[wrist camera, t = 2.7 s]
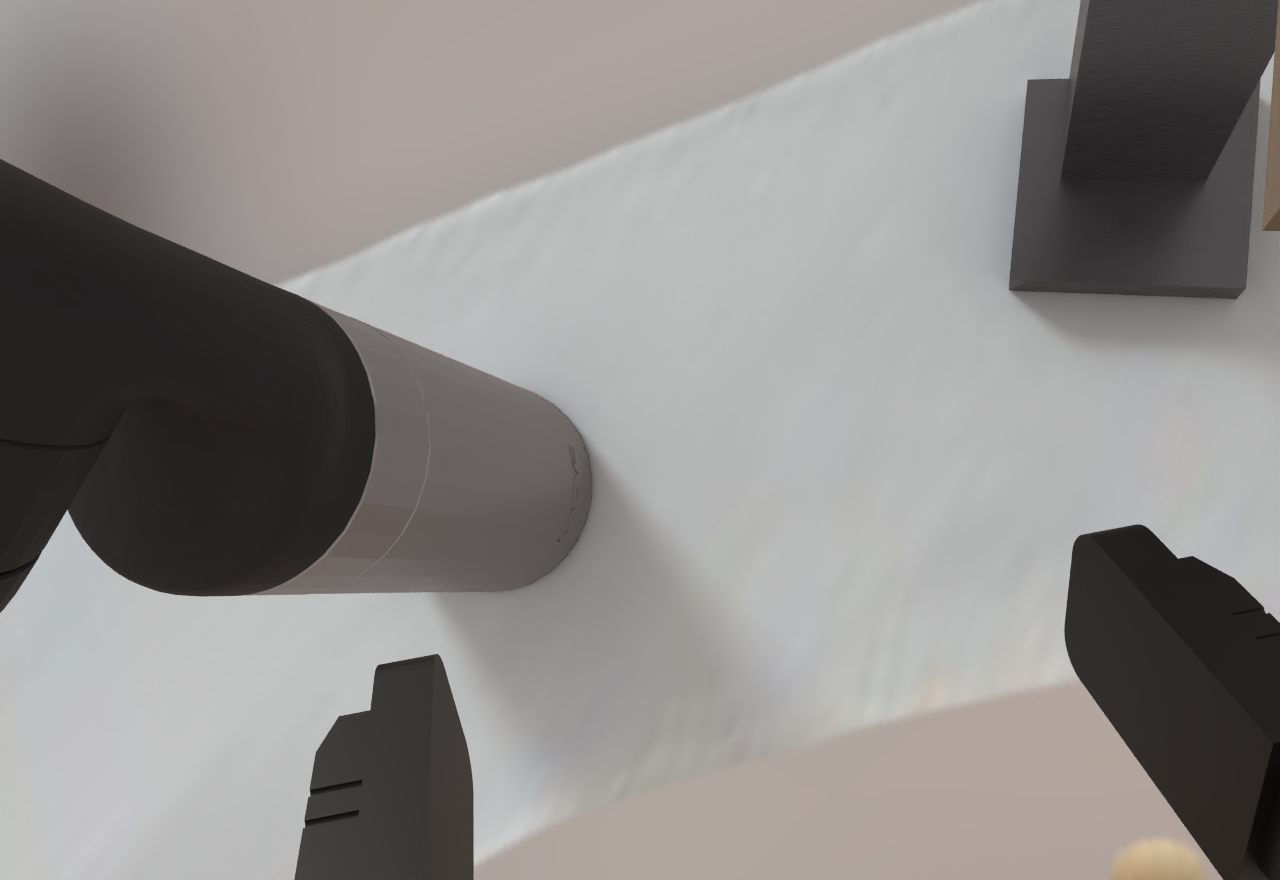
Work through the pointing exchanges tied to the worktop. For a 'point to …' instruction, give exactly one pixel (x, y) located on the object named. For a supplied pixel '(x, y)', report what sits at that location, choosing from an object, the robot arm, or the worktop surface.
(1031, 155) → the rack
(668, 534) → the worktop surface
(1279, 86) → the slat
